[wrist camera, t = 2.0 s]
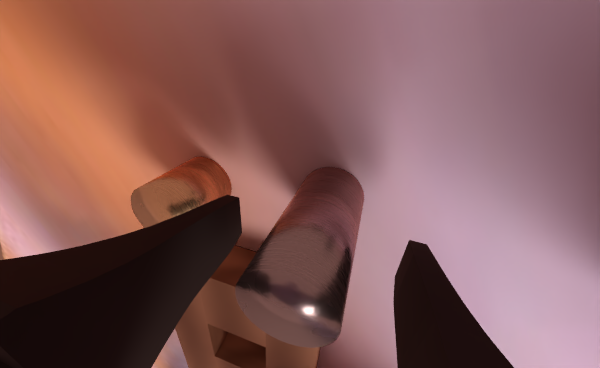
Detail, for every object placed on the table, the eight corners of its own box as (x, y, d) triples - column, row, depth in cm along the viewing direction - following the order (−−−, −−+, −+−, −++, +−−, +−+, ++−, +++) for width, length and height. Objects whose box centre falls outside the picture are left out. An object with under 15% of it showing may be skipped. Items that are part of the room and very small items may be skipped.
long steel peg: (370, 174, 12) (350, 293, 6) (357, 227, 14) (332, 361, 8) (304, 161, 13) (231, 255, 7) (300, 213, 14) (238, 324, 9)
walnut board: (334, 276, 16) (324, 318, 13) (312, 385, 24) (303, 424, 21) (182, 229, 19) (150, 257, 16) (208, 341, 27) (189, 370, 24)
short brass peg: (229, 162, 14) (180, 196, 11) (233, 208, 16) (192, 250, 13) (181, 152, 15) (122, 180, 12) (190, 197, 17) (141, 233, 14)
